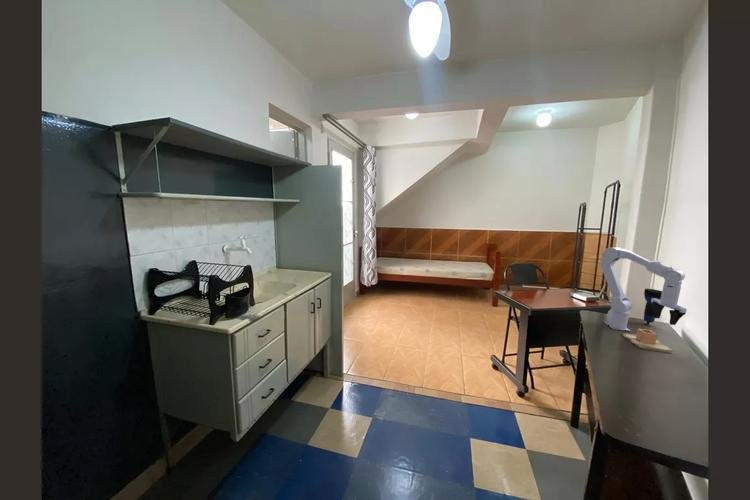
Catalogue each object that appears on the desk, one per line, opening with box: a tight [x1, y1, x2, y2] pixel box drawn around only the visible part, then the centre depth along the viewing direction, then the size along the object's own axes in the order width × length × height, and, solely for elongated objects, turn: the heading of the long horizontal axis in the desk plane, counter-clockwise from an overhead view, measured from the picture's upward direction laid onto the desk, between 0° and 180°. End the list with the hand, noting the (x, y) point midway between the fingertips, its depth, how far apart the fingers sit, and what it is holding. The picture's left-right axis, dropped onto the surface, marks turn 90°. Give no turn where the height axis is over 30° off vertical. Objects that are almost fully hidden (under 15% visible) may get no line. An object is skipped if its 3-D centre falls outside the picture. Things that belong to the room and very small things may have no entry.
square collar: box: [635, 328, 658, 344], centre depth 133 cm, size 5×5×5 cm
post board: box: [622, 332, 673, 354], centre depth 133 cm, size 14×12×6 cm
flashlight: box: [643, 288, 662, 325], centre depth 156 cm, size 8×8×20 cm
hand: (664, 321), depth 135 cm, fingers open, 7 cm apart
